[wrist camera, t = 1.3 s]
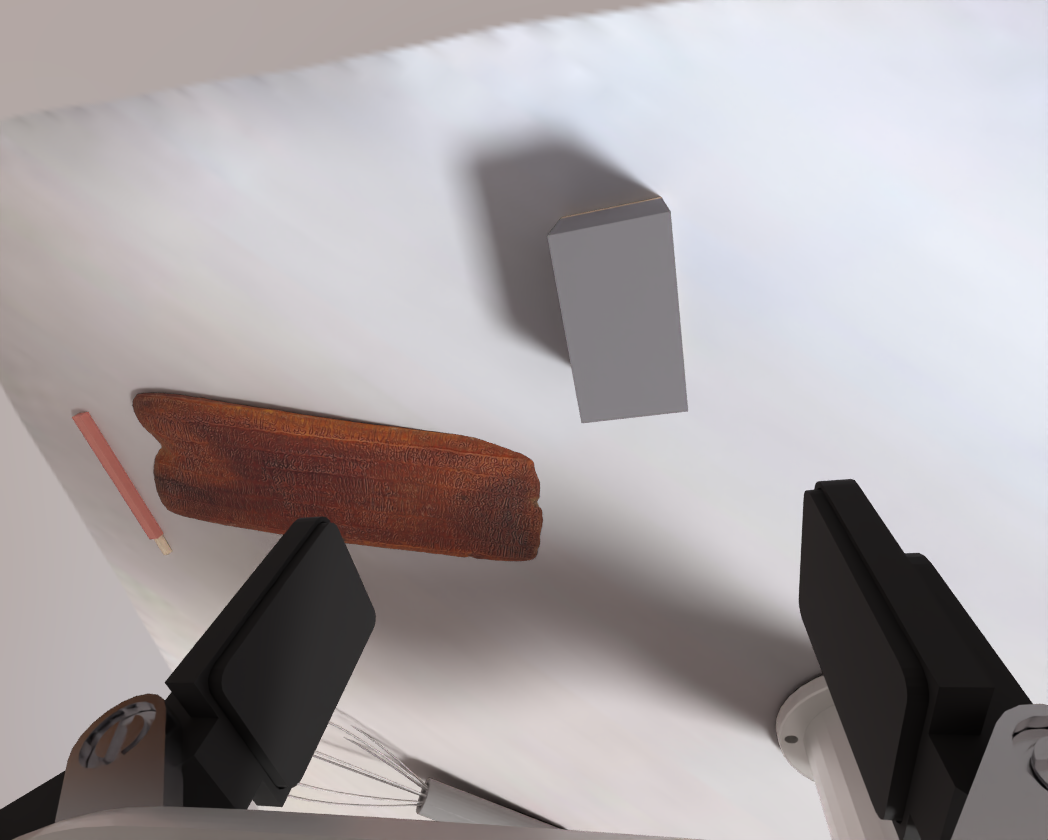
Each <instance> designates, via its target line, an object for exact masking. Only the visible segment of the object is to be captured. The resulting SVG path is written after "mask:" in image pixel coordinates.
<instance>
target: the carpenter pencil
mask: <svg viewBox="0 0 1048 840" xmlns="http://www.w3.org/2000/svg"><path fill="white" fill-rule="evenodd" d="M72 418H73V420H74V421H75V423H76V425H77V426H78V428H79V429H80V431H81V432H82V434H83V436H84V437H85V439H86V440H87V442H88V443H89V445H90V447H91V448H92V450H93V451H94V453H95V454H96V456H97V458H98V459H99V461H100V462H101V464H102V465H103V467H104V468H105V470H106V472H107V473H108V475H109V476H110V478H111V479H112V481H113V483H114V484H115V486H116V487H117V489H118V490H119V492H120V494H121V495H122V497H123V498H124V500H125V501H126V503H127V505H128V506H129V508H130V509H131V511H132V512H133V514H134V515H135V517H136V519H137V520H138V522H139V523H140V525H141V526H142V528H143V530H144V531H145V533H146V534H147V536H148V537H149V539H154V540H155V542H156V543H157V545H158V547H159V548H160V550H161V551H162V553H163V554H164V555H168V554H169V553H171V552H172V550H171V548H170V547H169V545H168V544H167V542H166V540H165V539H164V537H163V536H162V534H164V533H163V532H162V530H161V529H160V527H159V525H158V524H157V522H156V520H155V519H154V517H153V516H152V514H151V512H150V511H149V509H148V508H147V506H146V504H145V503H144V501H143V500H142V498H141V496H140V495H139V493H138V491H137V490H136V488H135V487H134V485H133V483H132V482H131V480H130V479H129V477H128V475H127V474H126V472H125V471H124V469H123V467H122V466H121V464H120V462H119V461H118V459H117V458H116V456H115V454H114V453H113V451H112V450H111V448H110V446H109V445H108V443H107V441H106V440H105V438H104V437H103V435H102V433H101V432H100V430H99V429H98V427H97V425H96V424H95V422H94V421H93V419H92V417H91V416H90V414H89V412H84V413H79V414H77V415H75V416H73V417H72Z"/></svg>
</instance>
